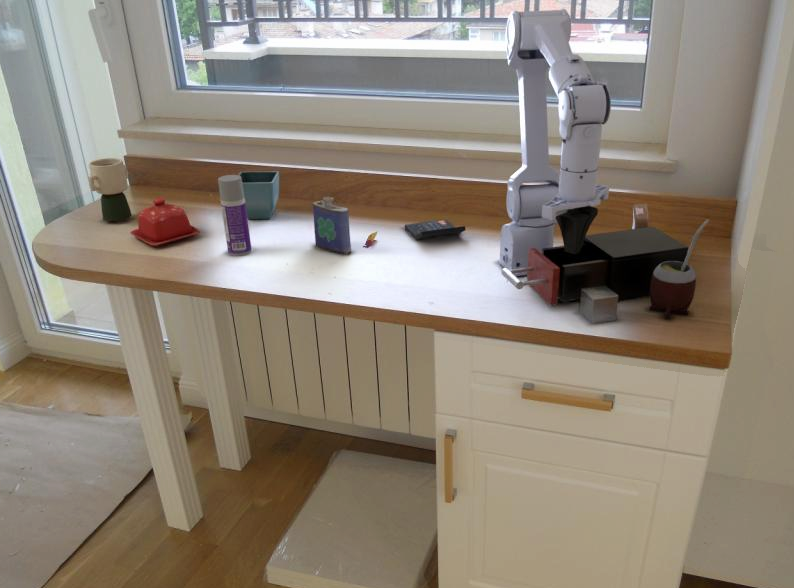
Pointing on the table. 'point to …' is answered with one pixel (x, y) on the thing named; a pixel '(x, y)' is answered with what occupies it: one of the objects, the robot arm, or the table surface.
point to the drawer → (562, 272)
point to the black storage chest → (636, 258)
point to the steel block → (598, 304)
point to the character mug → (110, 187)
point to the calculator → (433, 229)
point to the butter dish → (163, 224)
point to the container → (234, 215)
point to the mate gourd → (674, 284)
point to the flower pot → (260, 193)
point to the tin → (640, 216)
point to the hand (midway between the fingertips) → (572, 251)
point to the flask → (331, 227)
